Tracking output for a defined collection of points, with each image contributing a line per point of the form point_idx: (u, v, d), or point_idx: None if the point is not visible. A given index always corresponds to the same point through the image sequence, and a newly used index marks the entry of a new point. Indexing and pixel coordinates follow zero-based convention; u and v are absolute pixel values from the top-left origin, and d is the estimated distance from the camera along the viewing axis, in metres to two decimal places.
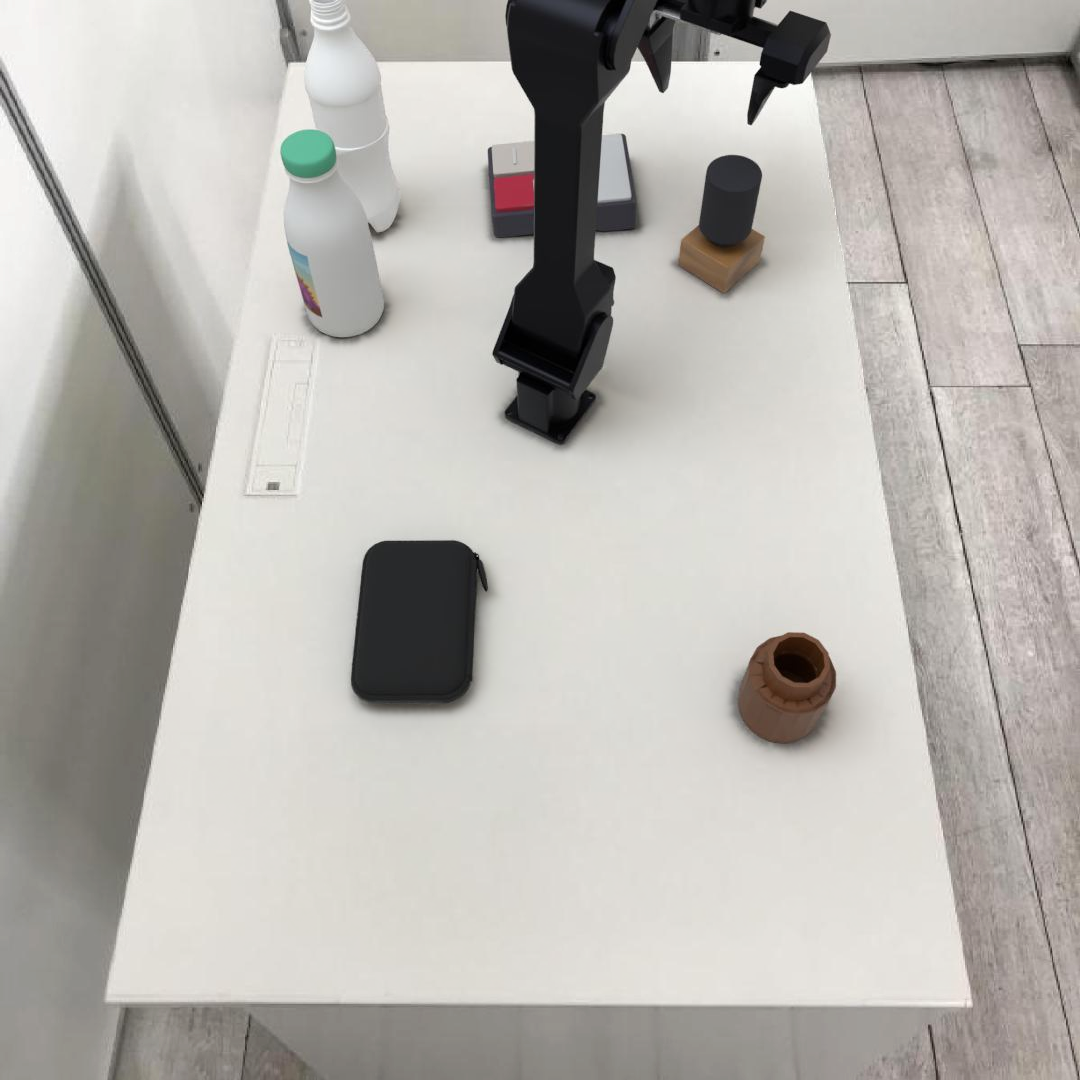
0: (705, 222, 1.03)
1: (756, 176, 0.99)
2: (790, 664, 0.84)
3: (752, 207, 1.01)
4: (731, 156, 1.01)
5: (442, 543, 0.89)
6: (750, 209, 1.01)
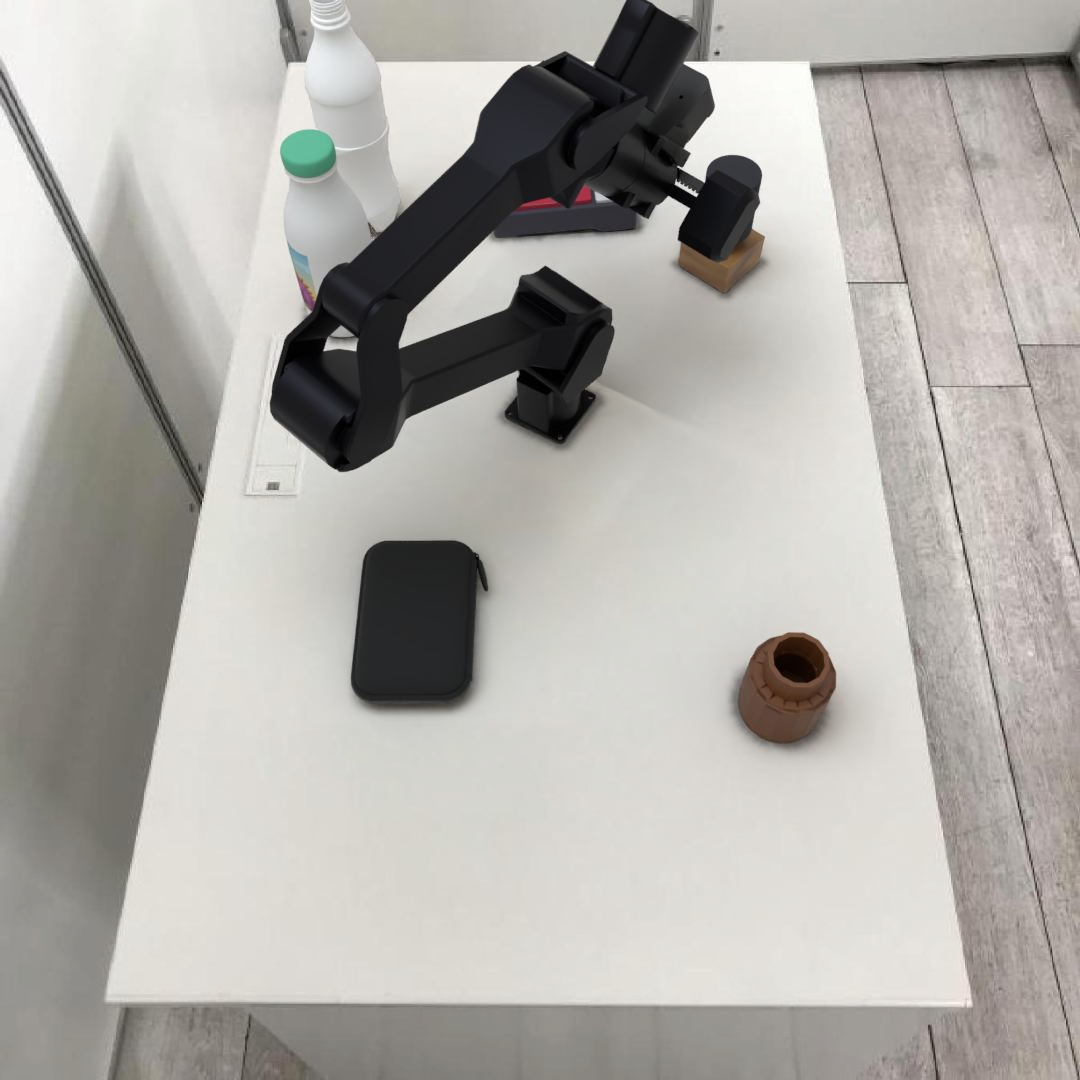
0: None
1: (756, 176, 0.99)
2: (790, 664, 0.84)
3: None
4: (731, 156, 1.01)
5: (442, 543, 0.89)
6: None
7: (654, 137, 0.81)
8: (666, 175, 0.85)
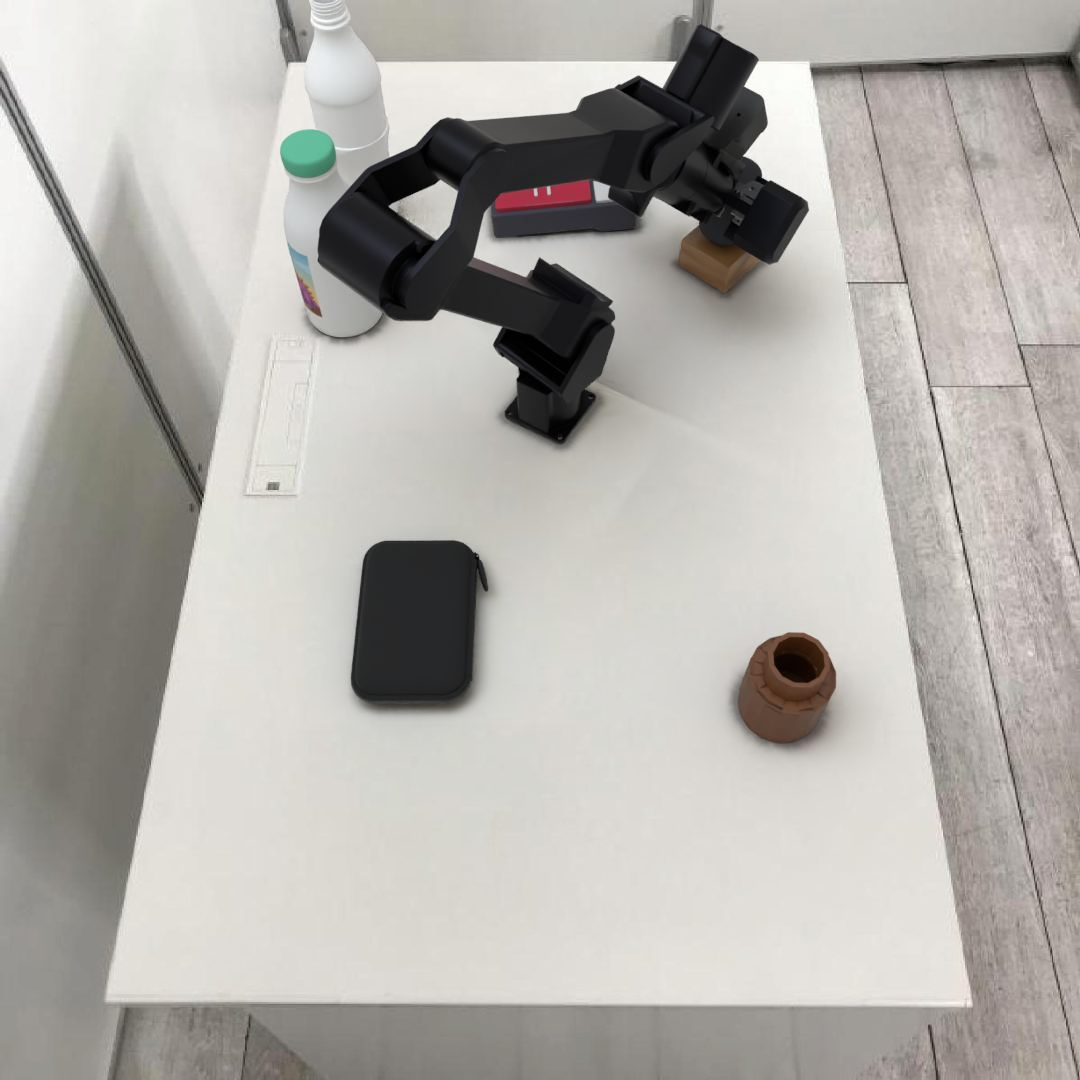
0: None
1: (756, 176, 0.99)
2: (790, 664, 0.84)
3: None
4: None
5: (442, 543, 0.89)
6: None
7: (715, 151, 0.90)
8: (724, 185, 0.93)
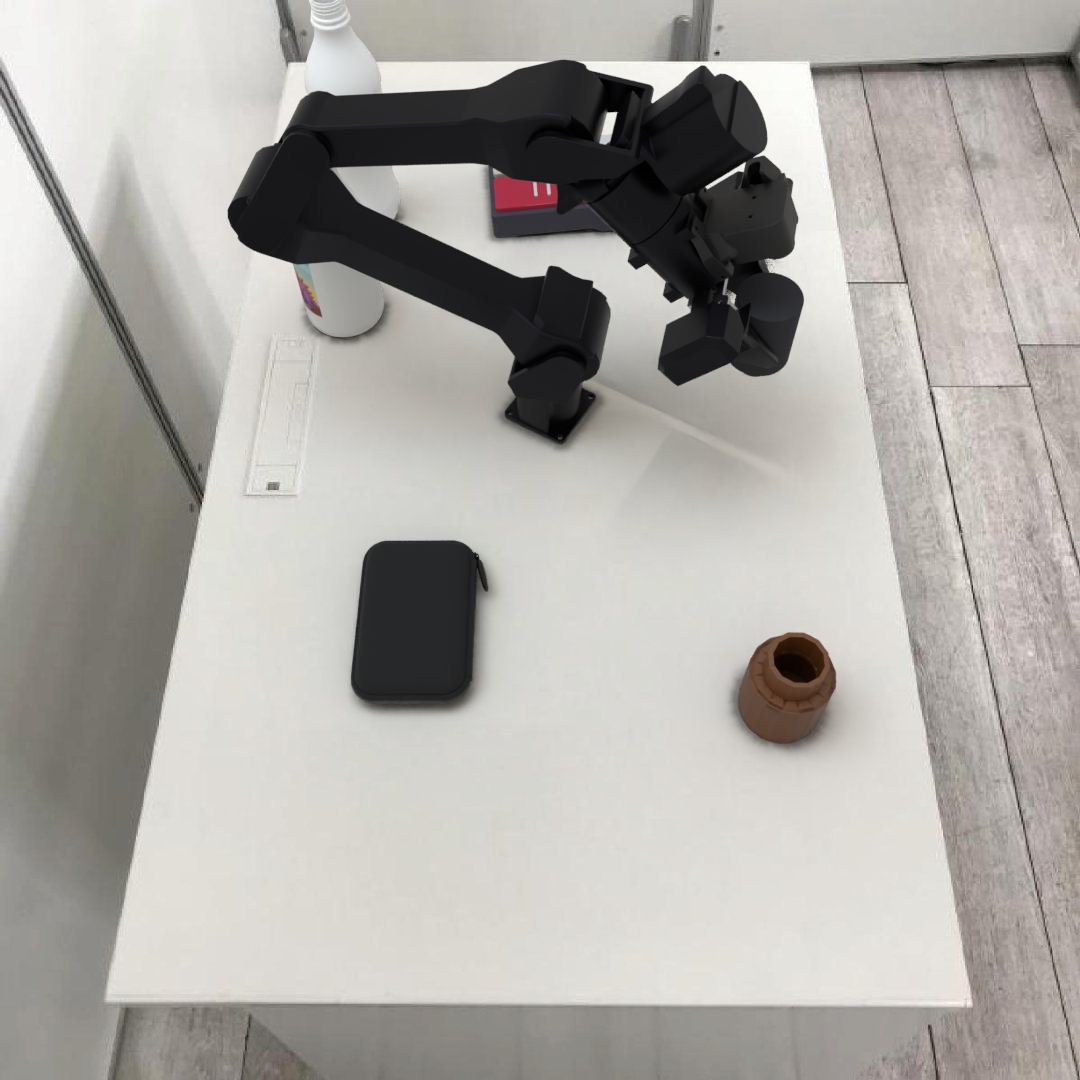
0: None
1: (779, 315, 0.81)
2: (790, 664, 0.84)
3: None
4: (793, 284, 0.83)
5: (442, 543, 0.89)
6: None
7: (686, 224, 0.76)
8: (693, 273, 0.78)
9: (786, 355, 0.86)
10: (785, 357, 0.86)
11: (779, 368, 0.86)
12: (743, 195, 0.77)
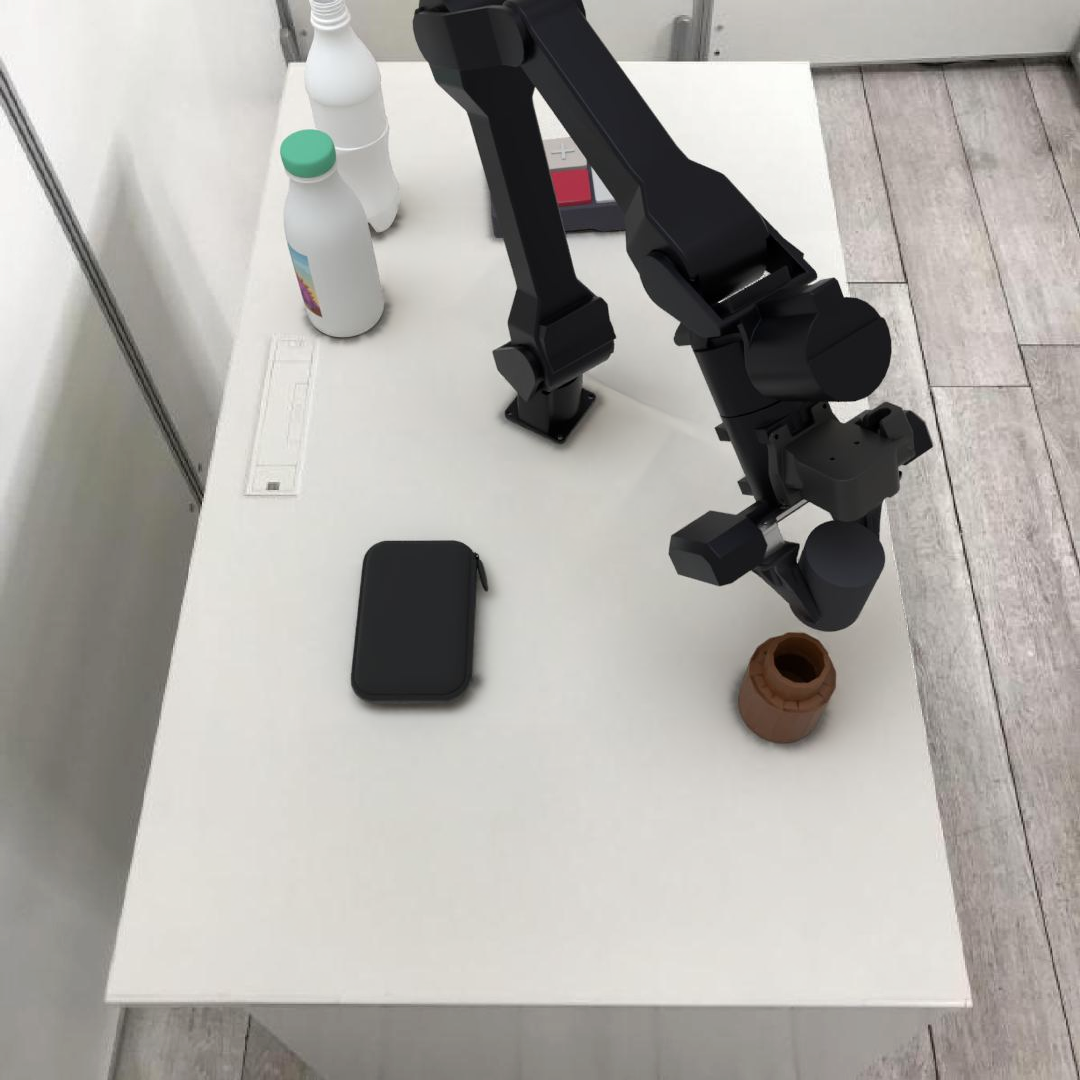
0: None
1: (834, 576, 0.69)
2: (790, 664, 0.84)
3: None
4: (880, 557, 0.69)
5: (442, 543, 0.89)
6: None
7: (768, 426, 0.66)
8: (761, 479, 0.68)
9: (839, 621, 0.73)
10: (837, 623, 0.73)
11: (827, 629, 0.74)
12: (852, 434, 0.65)
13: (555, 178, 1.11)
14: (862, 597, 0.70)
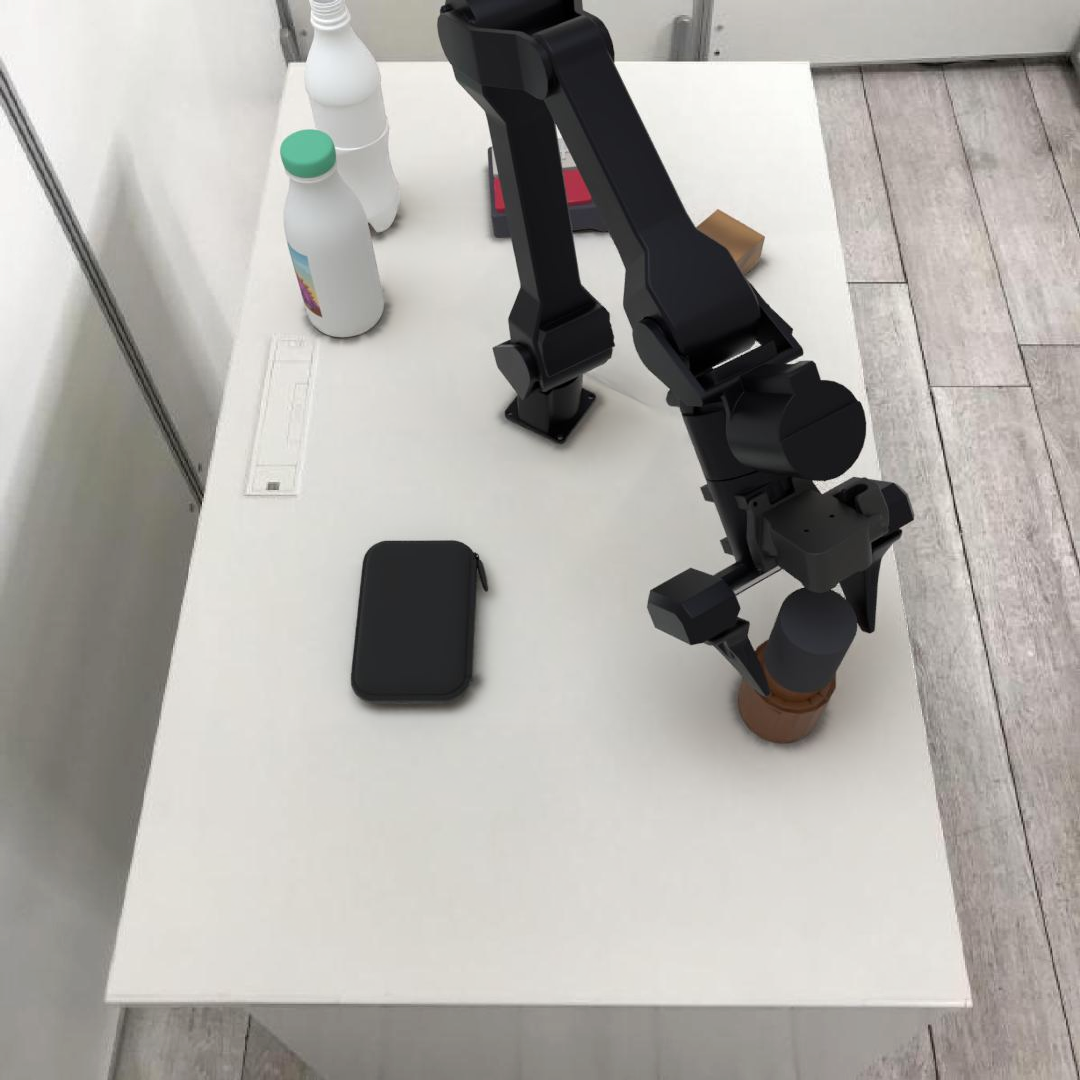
0: None
1: (805, 643, 0.71)
2: None
3: (780, 654, 0.73)
4: (853, 626, 0.71)
5: (442, 543, 0.89)
6: (778, 652, 0.73)
7: (748, 493, 0.68)
8: (740, 542, 0.70)
9: (810, 684, 0.74)
10: (809, 685, 0.75)
11: (799, 690, 0.76)
12: (828, 507, 0.67)
13: None
14: (833, 664, 0.72)
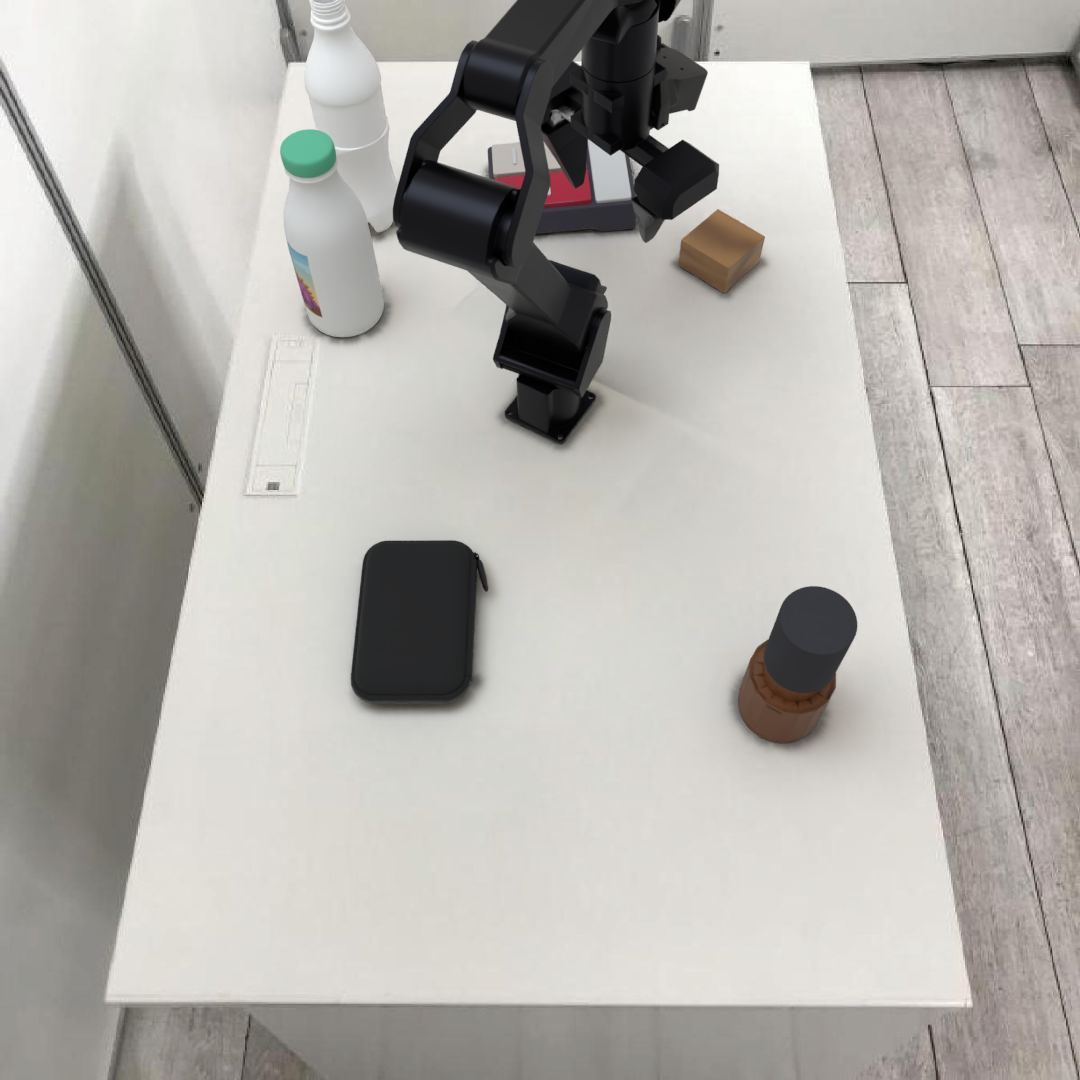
0: None
1: (805, 643, 0.71)
2: None
3: (780, 654, 0.73)
4: (853, 626, 0.71)
5: (442, 543, 0.89)
6: (778, 652, 0.73)
7: (661, 66, 0.83)
8: (647, 119, 0.85)
9: (810, 684, 0.74)
10: (809, 685, 0.75)
11: (799, 690, 0.76)
12: None
13: (555, 178, 1.11)
14: (833, 664, 0.72)
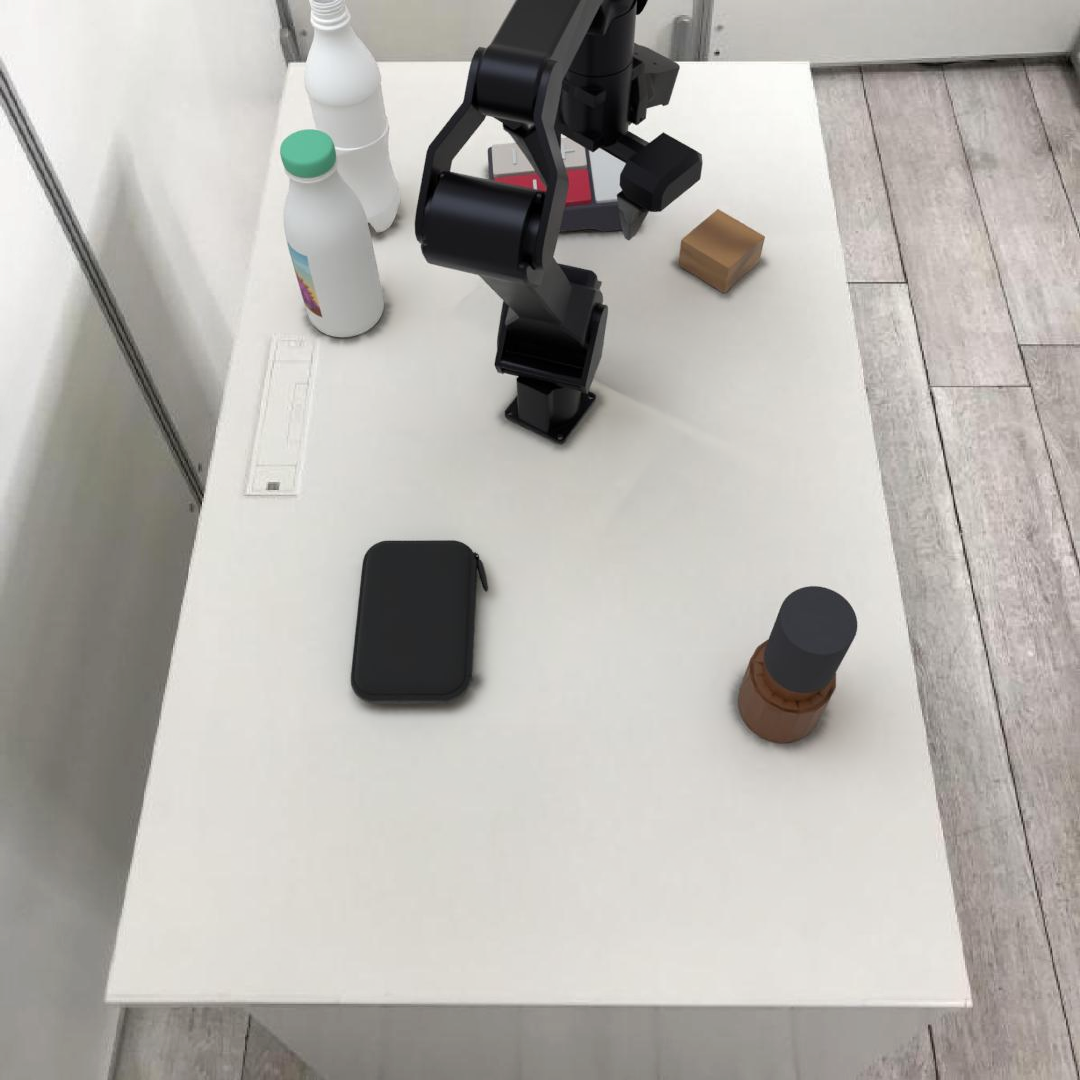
0: None
1: (805, 643, 0.71)
2: None
3: (780, 654, 0.73)
4: (853, 626, 0.71)
5: (442, 543, 0.89)
6: (778, 652, 0.73)
7: (638, 60, 0.83)
8: (626, 114, 0.85)
9: (810, 684, 0.74)
10: (809, 685, 0.75)
11: (799, 690, 0.76)
12: None
13: None
14: (833, 664, 0.72)
